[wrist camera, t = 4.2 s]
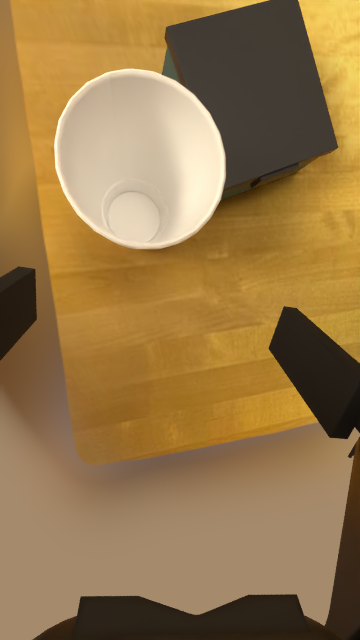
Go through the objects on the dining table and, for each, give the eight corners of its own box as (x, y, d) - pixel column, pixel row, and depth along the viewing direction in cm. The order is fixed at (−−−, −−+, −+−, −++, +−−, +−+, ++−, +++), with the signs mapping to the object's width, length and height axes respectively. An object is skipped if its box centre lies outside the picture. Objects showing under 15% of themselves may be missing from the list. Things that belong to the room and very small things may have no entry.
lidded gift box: (298, 177, 39) (339, 151, 32) (203, 213, 37) (224, 193, 30) (260, 49, 36) (295, -12, 29) (155, 79, 34) (164, 21, 27)
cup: (110, 283, 35) (103, 276, 20) (65, 189, 33) (17, 98, 18) (195, 246, 37) (250, 212, 21) (158, 154, 35) (188, 44, 19)
